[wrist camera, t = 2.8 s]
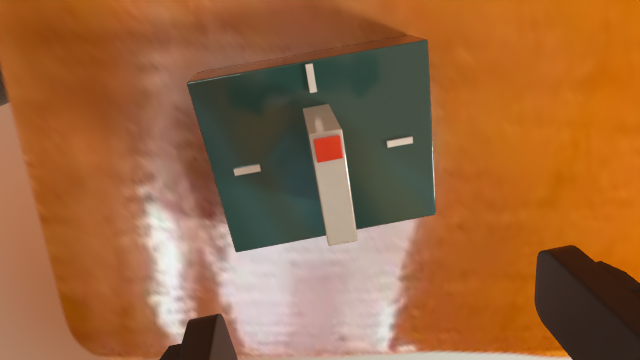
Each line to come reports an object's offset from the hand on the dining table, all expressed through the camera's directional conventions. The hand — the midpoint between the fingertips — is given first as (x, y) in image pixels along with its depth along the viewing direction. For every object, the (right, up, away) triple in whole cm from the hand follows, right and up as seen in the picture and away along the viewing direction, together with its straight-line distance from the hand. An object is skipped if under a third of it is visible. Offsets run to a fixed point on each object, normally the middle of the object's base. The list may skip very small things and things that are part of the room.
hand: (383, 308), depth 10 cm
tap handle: (-1, +5, +12) cm, 13 cm away
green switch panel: (-2, +6, +14) cm, 16 cm away
